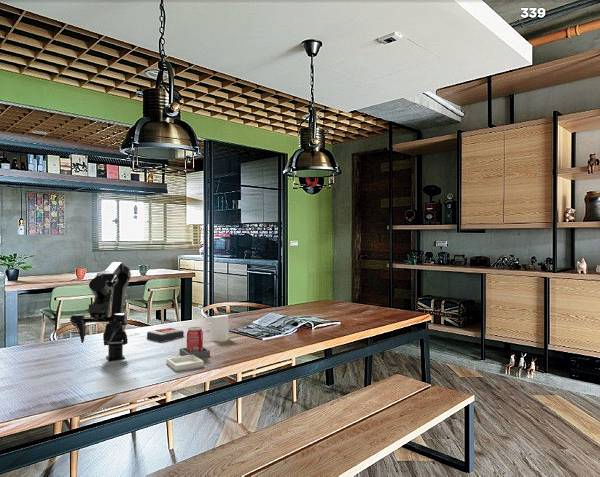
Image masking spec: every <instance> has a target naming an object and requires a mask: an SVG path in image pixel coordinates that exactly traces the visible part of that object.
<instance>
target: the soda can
mask: <svg viewBox="0 0 600 477" xmlns="http://www.w3.org/2000/svg"><path fill="white" fill-rule="evenodd" d="M203 347H204V332H203V330H202V327H199V326H194V327H189V328H188V330H187V333H186V348H187V352H188V353H194V352H200V351H203Z"/></svg>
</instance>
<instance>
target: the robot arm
mask: <svg viewBox="0 0 600 477" xmlns="http://www.w3.org/2000/svg"><path fill="white" fill-rule="evenodd" d="M131 278H132V273H131V270H130V268H129V266H126V265H124V262H122V261H111V262H110V263H109V266H108V267H107V268H106V269H105V270H102V271H98V272H97V273H96V275H95V276H94V277H93V278H92V279H91V280H90V281H89V283H88V286H89V289H90V291H91V293H92V294H93V296H94V301H93V302H92V303H90V304H88V311H87V313H88V314H89V316H90V317H88V316H87V317H85V315H84V314H83V313H78V314H77V313H75V314H74V313H73V314H72V315H71V316H70V319H69V320H70V321H69V322H70V324H72V325H73V327H76V329H78V332H79V337H80V338H79V339H80V342H81V344H83V343H84V341H85V336H86V330H87V327H86V324H87V323H106V324H105V328H104V331H103V334H102V337H103V346H104V347H105V346H108V349H107V350H108V351H107V353H108V354H107V355H106V356H105V357H106V359H107V360H108V361H109V362H111V361H117V360H124V359H126V357H125V356H124V354H123V353H124V352H123V350H124V349H123V348H124V346H125V345H127V344H128V334H127V331H126V330H125V326H127V325H128V318H127V316H126V314H125V313H123V307H124V297H125V289H126V288H127V287H128V286H129V284H130V281H131ZM111 288H113V290H112V289H111ZM111 302H112V303H111ZM110 310H111V313H110ZM109 313H110V316H109Z"/></svg>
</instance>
